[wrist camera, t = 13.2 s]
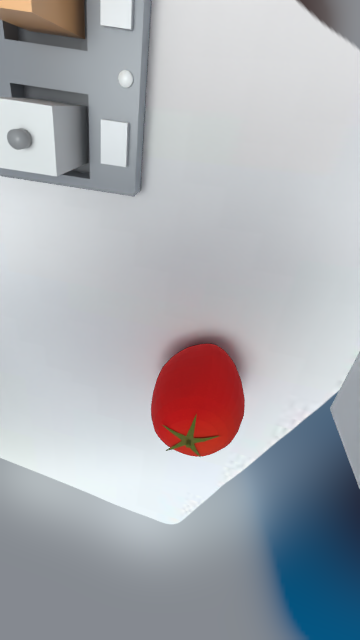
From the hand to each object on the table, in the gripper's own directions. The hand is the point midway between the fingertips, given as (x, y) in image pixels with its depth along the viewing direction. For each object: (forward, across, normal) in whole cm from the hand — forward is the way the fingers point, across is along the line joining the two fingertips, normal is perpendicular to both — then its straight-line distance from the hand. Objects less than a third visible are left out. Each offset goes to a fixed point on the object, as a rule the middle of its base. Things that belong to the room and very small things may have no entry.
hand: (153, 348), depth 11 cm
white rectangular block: (+29, -14, +3) cm, 32 cm away
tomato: (+29, +4, -24) cm, 38 cm away
